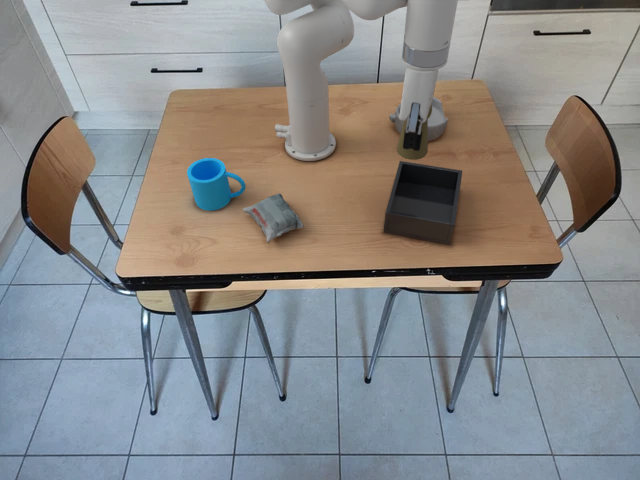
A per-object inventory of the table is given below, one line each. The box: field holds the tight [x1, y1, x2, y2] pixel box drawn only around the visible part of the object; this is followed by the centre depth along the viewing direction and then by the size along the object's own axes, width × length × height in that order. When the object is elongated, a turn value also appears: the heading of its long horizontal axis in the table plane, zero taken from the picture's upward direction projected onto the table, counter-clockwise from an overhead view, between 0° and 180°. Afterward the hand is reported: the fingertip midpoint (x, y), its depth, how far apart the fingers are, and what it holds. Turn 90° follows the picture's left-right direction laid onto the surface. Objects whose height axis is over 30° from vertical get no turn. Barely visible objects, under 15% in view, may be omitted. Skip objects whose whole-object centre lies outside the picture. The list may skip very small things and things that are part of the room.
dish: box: [388, 96, 449, 142], centre depth 124 cm, size 14×14×5 cm
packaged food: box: [242, 192, 305, 244], centre depth 103 cm, size 9×12×5 cm
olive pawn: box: [396, 104, 432, 161], centre depth 92 cm, size 6×6×11 cm
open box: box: [382, 160, 463, 246], centre depth 104 cm, size 14×17×6 cm
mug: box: [186, 157, 247, 211], centre depth 107 cm, size 12×8×8 cm
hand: (413, 140), depth 94 cm, fingers closed on olive pawn, 4 cm apart
